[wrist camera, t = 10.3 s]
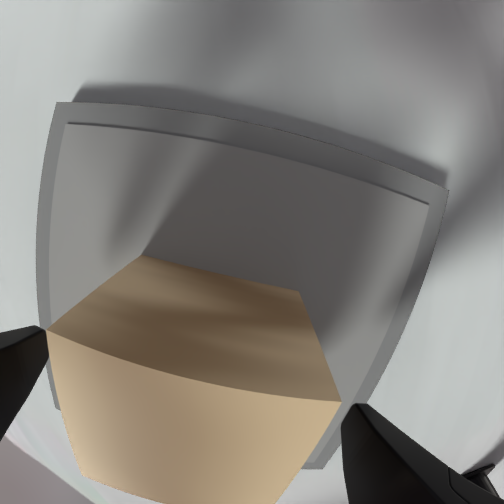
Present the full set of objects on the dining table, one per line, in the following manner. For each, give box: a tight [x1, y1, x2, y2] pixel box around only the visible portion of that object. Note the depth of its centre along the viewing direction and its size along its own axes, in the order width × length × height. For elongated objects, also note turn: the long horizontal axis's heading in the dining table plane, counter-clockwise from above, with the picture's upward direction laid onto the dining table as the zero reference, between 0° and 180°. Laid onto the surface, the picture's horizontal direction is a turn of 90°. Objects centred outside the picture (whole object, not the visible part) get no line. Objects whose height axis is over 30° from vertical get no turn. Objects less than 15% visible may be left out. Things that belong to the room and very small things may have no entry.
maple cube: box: [46, 255, 342, 504], centre depth 7 cm, size 5×5×5 cm
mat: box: [36, 102, 449, 469], centre depth 10 cm, size 14×14×1 cm
